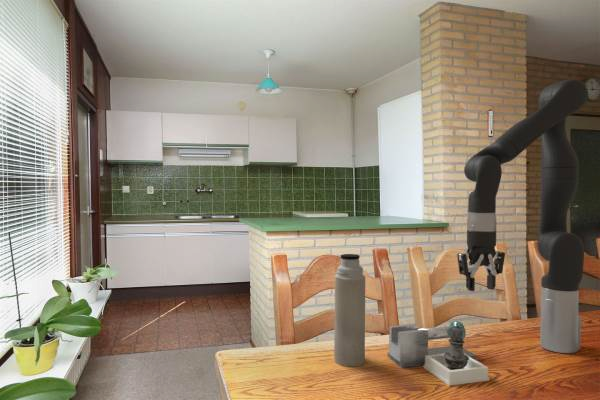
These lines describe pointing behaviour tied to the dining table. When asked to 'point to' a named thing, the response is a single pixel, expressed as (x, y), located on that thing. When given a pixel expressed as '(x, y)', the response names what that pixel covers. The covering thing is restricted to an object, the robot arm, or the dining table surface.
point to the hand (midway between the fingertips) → (480, 289)
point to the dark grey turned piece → (456, 350)
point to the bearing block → (413, 346)
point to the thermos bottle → (349, 312)
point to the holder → (459, 376)
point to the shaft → (443, 331)
